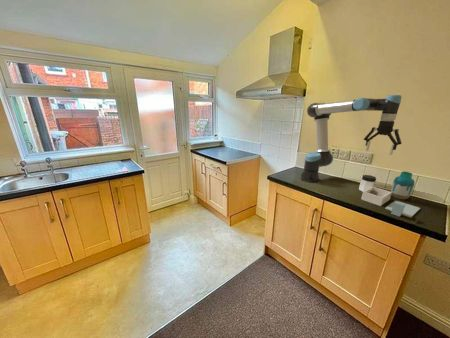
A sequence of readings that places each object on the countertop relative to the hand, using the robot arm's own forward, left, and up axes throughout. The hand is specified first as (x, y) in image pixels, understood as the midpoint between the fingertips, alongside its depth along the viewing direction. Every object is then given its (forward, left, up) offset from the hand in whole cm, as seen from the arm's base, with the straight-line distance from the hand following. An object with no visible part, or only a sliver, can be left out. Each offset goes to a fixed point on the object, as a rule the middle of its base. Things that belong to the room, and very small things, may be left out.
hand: (378, 152), depth 129 cm
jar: (-3, +4, -31) cm, 32 cm away
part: (+5, -3, -30) cm, 31 cm away
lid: (+22, -10, -31) cm, 40 cm away
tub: (+7, -7, -31) cm, 33 cm away
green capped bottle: (+15, +11, -31) cm, 36 cm away
